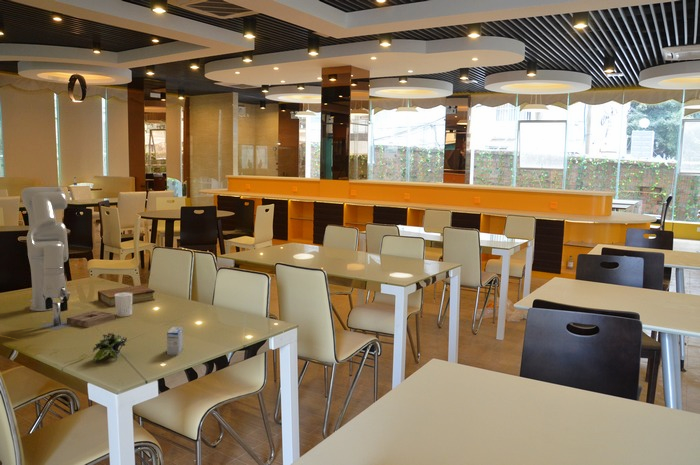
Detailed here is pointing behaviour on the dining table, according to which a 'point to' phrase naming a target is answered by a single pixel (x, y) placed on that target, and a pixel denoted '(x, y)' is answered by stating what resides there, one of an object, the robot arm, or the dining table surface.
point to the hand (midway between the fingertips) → (56, 309)
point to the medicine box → (174, 340)
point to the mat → (50, 326)
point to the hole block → (90, 318)
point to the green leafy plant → (109, 346)
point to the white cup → (123, 304)
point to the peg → (56, 314)
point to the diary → (138, 292)
